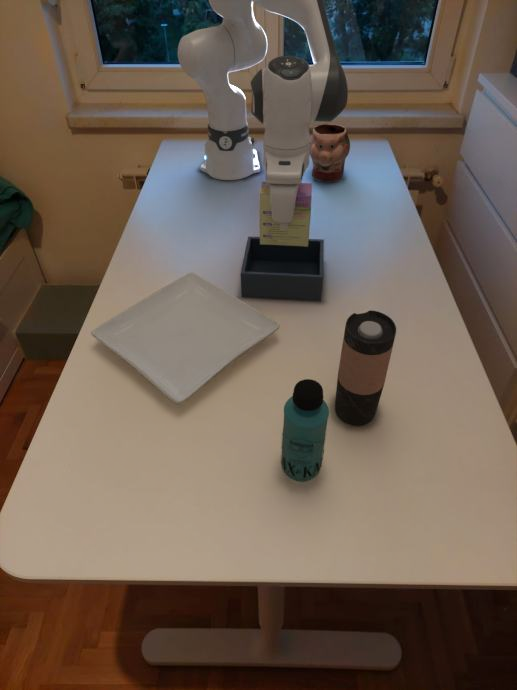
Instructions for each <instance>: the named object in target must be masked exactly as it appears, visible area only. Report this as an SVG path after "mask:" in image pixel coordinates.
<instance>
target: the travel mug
mask: <svg viewBox="0 0 517 690" xmlns="http://www.w3.org/2000/svg"><path fill="white" fill-rule="evenodd" d="M396 335H397V326H396V324H395V321H394V320H393V319H392V318H391V317H390V316H389V315H387V314H385V313H383V312H381V311H377V310H373V309H371V310H368V311H366V312H362V313H356V312H354V313H352V314H350V316H348V318H347V319H346V321H345V326H344V332H343V339H342V346H341V351H340V358H339V365H338V370H337V379H336V389H335V400H334V412H335V415H336V417H337V418H338V419H339V420H340V421H341V422H343V423H344V424H346V425H349V426H351V427H362V426H366V425H368V424H370V423H371V422H372V421H373V420H374V419H375V416H376V414H377V410H378V407H379V403H380V399H381V397H382V393H383V390H384V387H385V382H386V379H387V373H388V369H389V366H390V361H391V356H392V352H393V347H394V343H395V339H396Z"/></svg>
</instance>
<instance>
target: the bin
mask: <svg viewBox="0 0 517 690" xmlns="http://www.w3.org/2000/svg"><path fill="white" fill-rule="evenodd" d="M324 244H325V239H320V238H319V239H318V238H309V242H308V247H304V246H288V245H263V244H260V236H247V241H246V245H245V251H244V255H243V260H242V264H241V269H240V290H241V291H240V292H241V294H240V295H241V298H244V299H261V300H263V299H264V300H283V301H301V302H304V301H305V302H320V303H321V302H322V298H323V297H322V296H323V286H324V264H325V263H324V261H325V258H324V257H325V255H324V254H325V253H324V252H325V251H324V250H325V247H324V246H325V245H324Z"/></svg>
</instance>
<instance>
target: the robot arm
mask: <svg viewBox="0 0 517 690" xmlns="http://www.w3.org/2000/svg"><path fill="white" fill-rule="evenodd" d="M208 3H209V6H210V7H211V9H212V10H213V12H214V13H216V14H217V15H219V16H220V17H221V18H222V22H221V23H220V24H219V25H216V26H210V27H204V28H200V29H196V30H194V31H192V32H189V33H187V34H185V35H183V36H182V37H181V38H180V40H179V42H178V46H177V59H178V63H179V65H180V67H181V69H182V70H183V72H184V73H185V74H186V75H187V76H188V77H190V78H191V79H193V80H194V81H195V82H196V83H197V84H198V85H199V88H201V90H202V92H203V95H204V98H205V102H206V103H205V104H206V110H207V119H208V124H207V135H208V137H207V138H208V140H207V141H206V142H205V143H204V144H203V145H204V146H203V148H204V155H203V156H204V157H203V158H204V162H203V163H202V164H201V165H200V171H201V172H204V173H205V174H207V175H209V176H210V177H211V178H214V179H215V180H221V181H237V180H242V179H245V178H248V177H250V176H252V175H253V174H258V173H261V170H262V169H261V165H260V161H259V156H258V151H257V150H256V149H254V145H253V144H252V143H253V141H255V138H254V137H250V135H249V132H250V128H249V123H248V121H247V99H246V96H245V94H244V92H243V91H242V90H241V89H240V88H238V87H237V86H235V85H233V84H230V81H229V73H233V72H238V71H241V70H246V69H247V70H248V69H250V68H252V67H254V66H255V65H258V64H259V63H261V62H263V61H264V59H265V57H266V55H267V52H268V38H267V34H266V32H265V30H264V29H263V26H261V25H260V24H259V23H258V22H257V21H256V18H255V15H254V14H255V13H254V4H255V5H256V6H257V7H259V8H260V9H262V10H264V11H266V12H268V13H273V14H277V15H279V16H283V17H285V18H288V19H289V20H291V21H293V22H295V23H297V25H299V26H300V28H302V29H303V30H304V33H305V37H306V39H307V43H308V47H309V51H310V55H311V58H312V62H313V64H309V63H308V62H307V61H306V60H305V59H303V58H301V57H298V56H294V55H280V56H276V57H275V58H272V59H271V60H269V61H268V62H267V64H266V67H263V68H260V69H259V70H258V71H257V72H256V74H255V75H254V76H253V78H252V79H251V80H250V87H251V108H250V110H251V111H250V112H251V115H253V117H254V118H255V119H256V120H257V121H258V122H259V123H261V124H262V125H263V124H264V133H263V137H262V161H263V162H262V163H263V167H264V170H265V182H267V183H270V184H269V186H270V201H271V211H272V218H273V221H274V223H279V229H280V230H282V231H287V230H288V224H290V223H291V222H292V219H293V215H294V208H295V202H296V196H297V190H298V185H299V184H301V183H302V180H303V177H304V174H305V172H306V170H307V169H308V168H309V166H310V157H311V156H310V138H311V134H310V124H311V122H312V121H313V122H325V123H326V122H327V123H331V122H332V121H333V120H335V119H336V118H337V117H339V116H340V114H341V113H342V112H343V111H344V109H346V107H347V105H348V104H347V103H348V97H349V96H348V95H349V88H348V81H347V77H346V74H345V70H344V69H343V66H342V63H341V61H340V59H339V55H338V52H337V48H336V44H335V41H334V36H333V32H332V29H331V25H330V21H329V16H328V14H327V10H326V7H325V2H324V0H208Z"/></svg>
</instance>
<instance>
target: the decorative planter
mask: <svg viewBox="0 0 517 690" xmlns="http://www.w3.org/2000/svg"><path fill="white" fill-rule="evenodd" d="M311 133H312V135H311V136H310V156H309V157H310V159H311V162H312V169H311V177H312V178H313V179H315V180H316V181H319V182H326V183H332V182H333V183H335V182H338V181H340V180H341V179H342V177H343V175H344V172H345V163H346V158H347V157H348V156H349V153H350V151H351V141H350V137H349V134H348V129H347V128H346V127H345V126H343V125H341V124H336V123H322V124H318V125H316V126H314V127H313V129H312V132H311Z"/></svg>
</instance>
